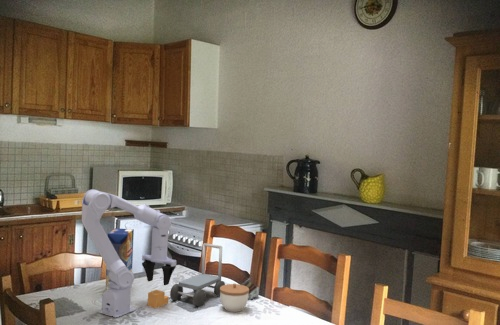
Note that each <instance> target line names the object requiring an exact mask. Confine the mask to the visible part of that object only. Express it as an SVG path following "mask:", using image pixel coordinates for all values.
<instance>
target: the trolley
mask: <svg viewBox="0 0 500 325" xmlns="http://www.w3.org/2000/svg"><path fill="white" fill-rule="evenodd" d="M207 247H208V248H211V249H218V251H219V252H218V270H217V271H218V272H217V273H218V274H217V275H213V274H208V273H205V269H206V251H207V250H206V248H207ZM201 254H202V258H201V273H200V274H199V273H198V274H197V275H195V276H191V277H188V278H186V279H184V280H181V281H179V282H178V283H175V284H174V285H173V286H172V287H171V288H170V292H169V298H170V299H171V300H173V301H175V302H177V301H179V300H180V299H181V298H182V296H186V297H192V303H193V305H194V306H196V307H201V306H202V305H203V304H204V303H205V300H206V297H207V296H206V291H205V290H204V289H205V288H210V289H213V294H214V296H216V297H219V298H220V287H221V286H223V285H226V283H225V281H223V280H222V268H223V267H222V264H223V262H222V261H223V246H222V245H218V244H211V243H205V242H204V243H203V244H202V253H201ZM214 284H215V285H214ZM184 288H186V289H189V290H193V291H194V293H193V294H192V293H186V292H184Z"/></svg>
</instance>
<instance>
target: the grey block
mask: <svg viewBox="0 0 500 325" xmlns="http://www.w3.org/2000/svg"><path fill="white" fill-rule="evenodd" d="M241 285H244V286H246V287H248V288H249V295H248V301H253V299H254V298H255V299H258V298H259V294H260V293H259V292H260V287H259V286H257V285H256V284H254V283H252V281H251V276H249V277H248V278H247V279H246V280H244V282H242V283H241Z"/></svg>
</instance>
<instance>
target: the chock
mask: <svg viewBox="0 0 500 325" xmlns="http://www.w3.org/2000/svg"><path fill="white" fill-rule="evenodd" d="M169 298H170V296H169V295H166V293H165V291H162V290H160V289H159V290H158V289H154V290H151V291H149V292H148V293H147V307H150V308H154V309H157V308H160V307H162V306H165V305H167V304H169V303H170V302H169V301H170V300H169Z"/></svg>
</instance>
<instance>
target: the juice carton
mask: <svg viewBox="0 0 500 325" xmlns="http://www.w3.org/2000/svg"><path fill="white" fill-rule="evenodd" d="M134 231H135V230H134V228H117V227H116V228H114V229H112V230H111V231H109V232H108V233H107V236H108V238H109V240H110V242H111V243H112V245H113V247H114V249H115V251H116V252H117V254H118V256H119V258H120V259H121V261H122V262H123V263H124V264H125V265H126V267H127V269H128V270H130V271H132V272H133V257H134V256H133V255H134V235H135V234H134V233H135V232H134ZM105 269H106V268H105ZM110 282H111V280H110V279H109V278H108V271H107V269H106V271H105V291H106V290H108V289H109V287H110Z"/></svg>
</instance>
